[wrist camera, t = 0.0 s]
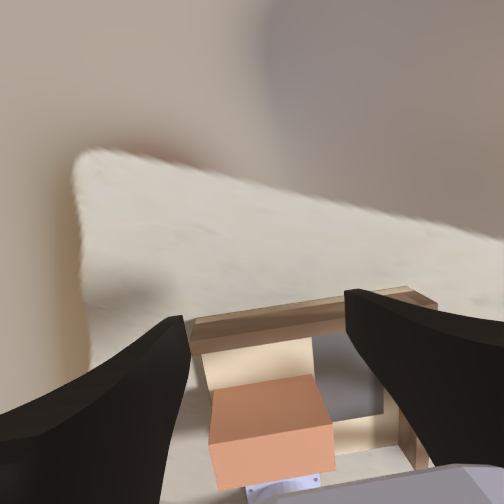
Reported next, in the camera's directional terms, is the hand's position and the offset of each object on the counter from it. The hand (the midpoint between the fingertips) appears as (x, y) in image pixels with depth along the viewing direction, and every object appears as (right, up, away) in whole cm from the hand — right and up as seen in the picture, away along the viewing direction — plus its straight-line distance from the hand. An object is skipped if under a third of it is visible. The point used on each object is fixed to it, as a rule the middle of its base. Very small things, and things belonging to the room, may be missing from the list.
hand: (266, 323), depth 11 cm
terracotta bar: (+1, -11, +12) cm, 16 cm away
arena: (+5, -9, +13) cm, 17 cm away
